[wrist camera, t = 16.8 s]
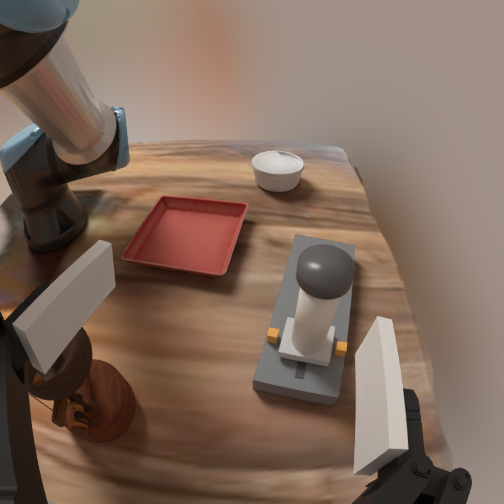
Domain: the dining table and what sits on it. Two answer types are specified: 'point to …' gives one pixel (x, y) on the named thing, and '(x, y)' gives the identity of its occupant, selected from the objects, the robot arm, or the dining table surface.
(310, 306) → the handle
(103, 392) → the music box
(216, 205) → the plant saucer
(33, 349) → the robot arm
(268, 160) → the ramekin
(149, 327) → the dining table surface
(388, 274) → the dining table surface
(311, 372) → the fader console
